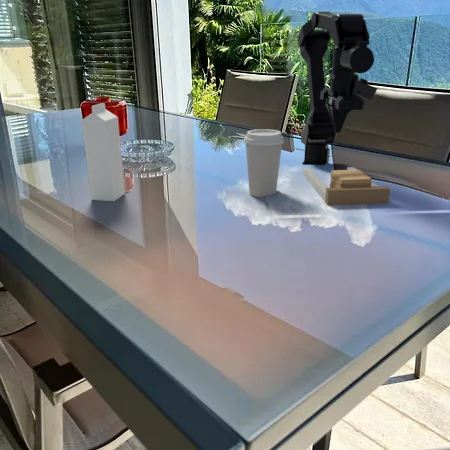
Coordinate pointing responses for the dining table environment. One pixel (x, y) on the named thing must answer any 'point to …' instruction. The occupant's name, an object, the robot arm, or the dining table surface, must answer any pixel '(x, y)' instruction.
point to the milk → (103, 154)
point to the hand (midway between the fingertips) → (337, 132)
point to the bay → (347, 191)
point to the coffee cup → (263, 160)
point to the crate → (349, 179)
